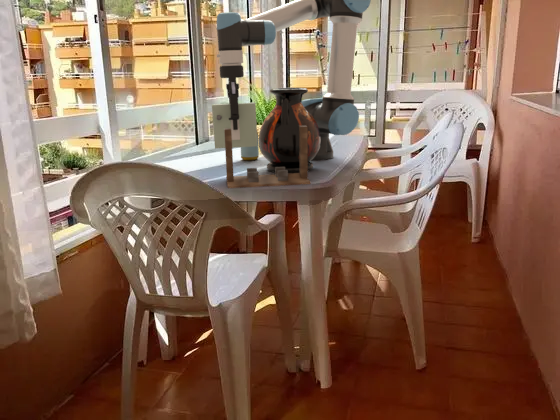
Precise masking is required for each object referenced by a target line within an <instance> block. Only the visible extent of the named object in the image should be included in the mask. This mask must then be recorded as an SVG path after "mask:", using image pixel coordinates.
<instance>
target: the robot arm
mask: <svg viewBox="0 0 560 420" xmlns="http://www.w3.org/2000/svg"><path fill="white" fill-rule="evenodd" d="M370 6H371V0H293V1H290V2H288V3H285V4H283V5H280V6H277V7H274V8H272V9H270V10H267V11H265V12H262V13H260V14H257V15H254V16H252V17H251V16H250V17H249V18H246V19H242V15H241V14H240V13H239V12H237V11H235V12H234V11H232V12H231V11H229V12H227V11H226V12H220V13H218V14H217V15H216V28H215V29H216V33H217V45H218V46H217V47H218V50H217V51H218V54H216V58H219V59H218V61H219V62H218V63H219V65H221V66H219V76H220V78H221V79H228V83H226V84H225V87H226V92H227V93H226V94H227V98H228V104H230V110H231V118H229V120H231V134H232V140H240V128H239V109H238V103H239V96H240V94H239V90H240V84H239V83H237V79H238V78H239V79H240V78H244V66H243V65H242V64H243V63H244V54H243V53H244V51H243V47H246V46H247V47H249V46H260V45H261V46H265V45H271V44H273V43H274V42H275V40H276V37H277V32H279V31H282V30H284V29H287V28H289V27H292V26H294V25H295V26H296V25H297V24H300V23H302V22H305V21H307V20H308V21H315V20H318V19H320V18H329V21H331V23H332V34H331V35H332V36H331V43H330V44H331V45H330V46H331V47H330V58H329V68H328V78H327V79H328V81H327V91H326V93H325V94H324V95H322V97H319V98H309V99H302V104H303V106H304V108H305V109H306V110H307V111H308V112H309V113H310V115H311V116H312V117H313V118H314V120H315V121H316V123H317V126H318V129H319V132H320V139H321V141H320V149H319V151H318V153H317V154H316V156H315V157H314V158H313V159H312V160H311V161H323V160H331V159H333V158H334V150H333V146H332V142H331V140H330V135H334V136H347V135H349V134H350V133H352V132H353V131H354V130H355V128H356V127H357V125H358V122H359V120H360V114H359V113H360V111H359V110H358V107H357V106H356V105H355V97H353V95H352V92H351V91H352V81H353V72H354V71H353V70H354V63H355V53H356V41H357V32H358V31H357V30H358V25H359V24H360V23H361V22H362V21H363V13H364V12H366V11H367V10H368V9H369V7H370Z"/></svg>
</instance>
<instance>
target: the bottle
mask: <svg viewBox="0 0 560 420" xmlns="http://www.w3.org/2000/svg"><path fill="white" fill-rule="evenodd" d="M257 123H258V122H257V120H256V125H257ZM259 150H260V148H259V131H258V130H257V146H252V147H240V158H241V159H242V160H243V161H255V160H258V159H259V158H260V156H259V155H260V154H259Z"/></svg>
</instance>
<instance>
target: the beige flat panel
mask: <svg viewBox="0 0 560 420" xmlns="http://www.w3.org/2000/svg"><path fill="white" fill-rule="evenodd" d="M256 104H257V103H256V102H238V109H239V128H240V140H232V149H233V148H241V147H252V146H257V131H258V130H257V127H258V126H257V125H256V121H257V111H256V109H257V105H256ZM211 109H212V110H211V112H212V125H213V126H212V127H213V140H214V141H213V142H214V149H225V133H224V128H231V120H229V118H231V110H230V104H229V103H215V104H211Z"/></svg>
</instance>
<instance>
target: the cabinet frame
mask: <svg viewBox="0 0 560 420" xmlns="http://www.w3.org/2000/svg"><path fill="white" fill-rule="evenodd" d="M224 133H225V148H224V151H225V166H226V184H227V188H228V189H238V188H240V189H241V188H257V187H259V188H260V187H277V186H279V187H280V186H281V185H282V186H298V185H301V184H302V185H311V183H312V182H311V180H310V179H309V178H308V177H309V176H308V175H309V173H308V172H309V171H308V157H307V126H306V125H304V126H299V162H300V173H288V171H287V170H285V167H275V172H274V173H275V174H259V171H258V170H257V169H258V168H257V167H247V168H246V175H234V159H233V157H234V156H233V148H232V134H231V128H224Z"/></svg>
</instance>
